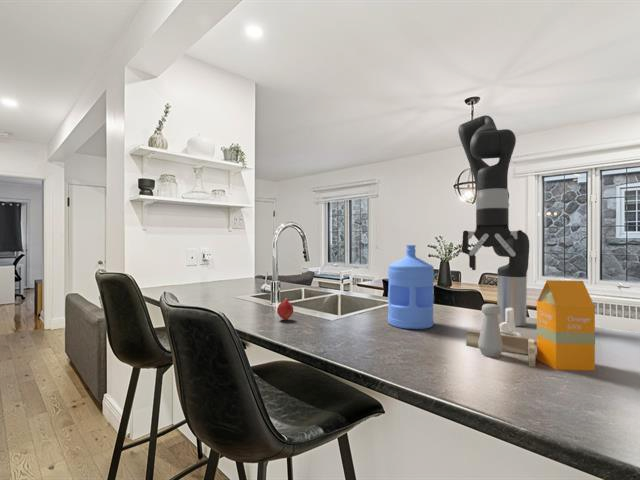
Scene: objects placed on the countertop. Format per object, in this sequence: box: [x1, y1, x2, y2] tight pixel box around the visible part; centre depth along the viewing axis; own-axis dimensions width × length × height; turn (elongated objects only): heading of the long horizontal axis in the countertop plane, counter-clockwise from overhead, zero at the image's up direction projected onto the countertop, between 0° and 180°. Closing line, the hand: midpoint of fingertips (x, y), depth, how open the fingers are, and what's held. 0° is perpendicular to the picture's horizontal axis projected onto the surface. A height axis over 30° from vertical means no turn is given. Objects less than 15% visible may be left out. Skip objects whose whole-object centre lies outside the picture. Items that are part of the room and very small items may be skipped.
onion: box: [276, 298, 294, 321], centre depth 128 cm, size 6×6×8 cm
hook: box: [499, 308, 524, 337], centre depth 105 cm, size 8×12×7 cm
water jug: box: [387, 244, 435, 330], centre depth 124 cm, size 16×16×28 cm
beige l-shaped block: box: [465, 329, 536, 368], centre depth 91 cm, size 12×16×4 cm
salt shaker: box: [478, 303, 503, 358], centre depth 90 cm, size 6×6×13 cm
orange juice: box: [536, 279, 596, 371], centre depth 84 cm, size 8×9×20 cm
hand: (491, 270), depth 90 cm, fingers open, 8 cm apart
